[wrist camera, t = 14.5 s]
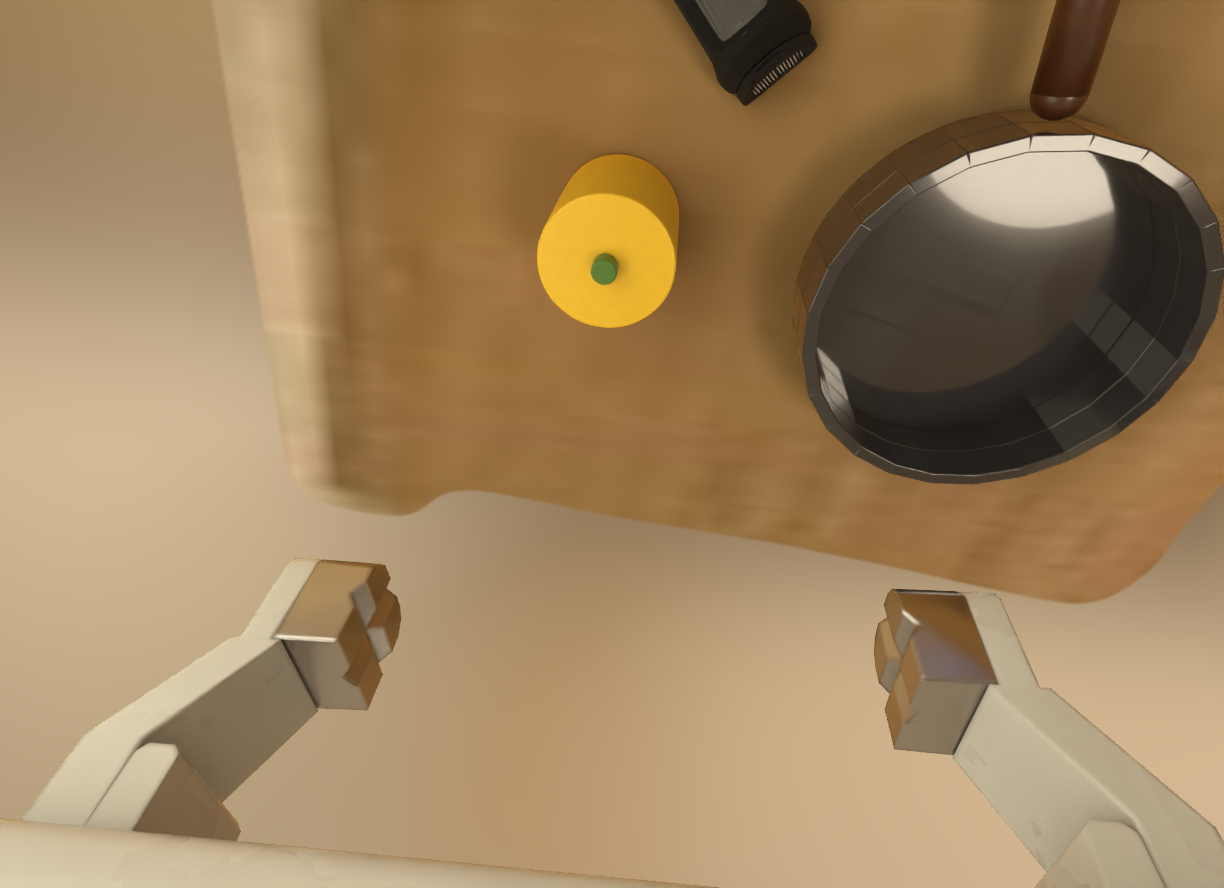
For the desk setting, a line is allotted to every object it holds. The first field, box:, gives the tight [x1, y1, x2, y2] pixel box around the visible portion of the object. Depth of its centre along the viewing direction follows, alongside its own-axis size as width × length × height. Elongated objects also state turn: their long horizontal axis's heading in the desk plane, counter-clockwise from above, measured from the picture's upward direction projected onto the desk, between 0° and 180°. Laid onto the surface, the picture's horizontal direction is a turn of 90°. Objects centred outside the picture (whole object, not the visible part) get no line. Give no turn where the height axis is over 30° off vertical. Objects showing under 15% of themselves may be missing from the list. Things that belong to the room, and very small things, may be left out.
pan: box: [793, 110, 1224, 484], centre depth 30 cm, size 16×16×4 cm
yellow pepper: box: [537, 154, 680, 328], centre depth 29 cm, size 5×5×6 cm
